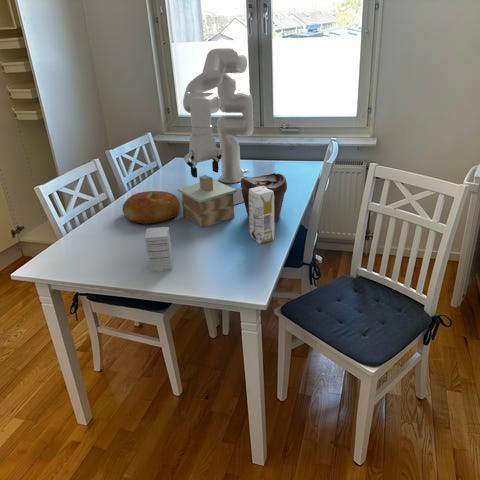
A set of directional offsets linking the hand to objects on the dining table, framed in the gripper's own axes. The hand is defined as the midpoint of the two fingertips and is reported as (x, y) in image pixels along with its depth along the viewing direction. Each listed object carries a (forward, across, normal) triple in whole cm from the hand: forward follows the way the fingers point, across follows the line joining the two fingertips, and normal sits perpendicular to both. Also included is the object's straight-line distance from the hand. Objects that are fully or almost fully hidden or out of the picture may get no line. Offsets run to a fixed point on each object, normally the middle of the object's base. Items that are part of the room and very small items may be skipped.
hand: (205, 174), depth 173 cm
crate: (+18, -1, 0) cm, 18 cm away
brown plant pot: (+18, -18, +15) cm, 30 cm away
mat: (+18, -22, -12) cm, 30 cm away
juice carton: (+19, -5, +30) cm, 35 cm away
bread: (+19, +16, -18) cm, 30 cm away
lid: (+7, 0, 0) cm, 7 cm away
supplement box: (+19, +33, +23) cm, 45 cm away
